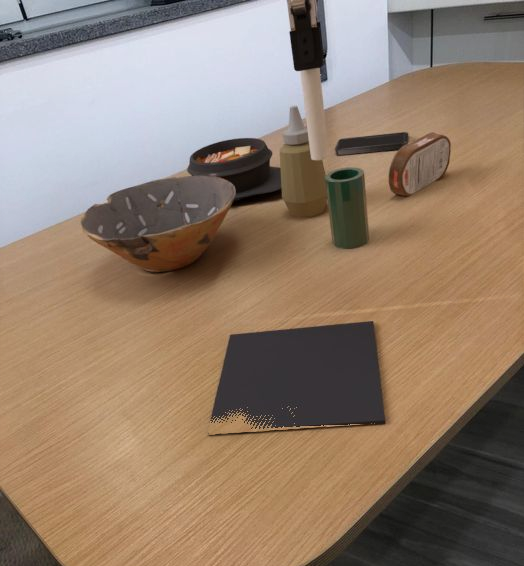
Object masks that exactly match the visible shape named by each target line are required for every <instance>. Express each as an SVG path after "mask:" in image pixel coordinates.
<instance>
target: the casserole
mask: <svg viewBox="0 0 524 566" xmlns="http://www.w3.org/2000/svg"><path fill="white" fill-rule="evenodd" d="M272 157H273V150H271V149H270V148H269V147H268V145H267V143H266V142H265V141H264V140H263V139H261V138H256V137H240V138H231V139H226V140H221V141H217V142H213V143H211V144H208V145H205V146H203V147H201V148H199V149H197V150H195V151H194V152H193V153H191V155H190V156H189V164H188V166H187V168H186V171H187V173H188V174H189V176H215V177H219V178H223V179H225V180H227V181H229V182H230V183H232V184H233V185H234V186H235V190H236V195H235V198H234V201H241V200H244V199H247V198H250V197H253V196H258V195H265V194H270V193H274V192H278V191H279V190H282V185H281V168H280V167H279V166H272V165H271V159H272ZM234 201H233V202H234Z"/></svg>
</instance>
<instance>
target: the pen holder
mask: <svg viewBox="0 0 524 566" xmlns="http://www.w3.org/2000/svg"><path fill="white" fill-rule="evenodd" d="M325 174H326V175H325V183H326V192H327V208H328V217H329V218H328V219H329V227H330V234H331V242H332V246H334V247H335V248H338V249H340V250H341V249H342V250H353V249H357V248H361V247H363V246H364V245H366V244H368V243H369V241H370V230H369V215H368V205H367V204H368V203H367V194H366V193H367V191H366V180H365V179H366V176H365V170H363V169H362V168H359V167H340V168H337V169H334V170H331V171H329V172H328V173H325Z"/></svg>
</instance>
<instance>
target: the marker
mask: <svg viewBox="0 0 524 566" xmlns="http://www.w3.org/2000/svg"><path fill="white" fill-rule="evenodd" d="M299 74H300V81H301V88H302V97H303V105H304V111H305V113H304V114H305V121H306V126H307V130H308V138H309V146H310V154H311V159H312V160H322V161H323V160H327V159H328V158H329V157H330V152H329V143H328V133H327V125H326V123H327V122H326V116H325V115H326V114H325V106H324V97H323V87H322V79H321V78H322V77H321V69H320V68H315V69H309V70H303V71H299Z"/></svg>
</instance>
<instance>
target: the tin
mask: <svg viewBox="0 0 524 566" xmlns="http://www.w3.org/2000/svg"><path fill="white" fill-rule="evenodd" d="M451 146H452V144H451V141H450V138H448V136H447V135H444V134H440V133H435V132H429V133H426V134H424V135H422V136H421V137H419V138H416V139H415V140H412V141H411V142H408V144H407V145H405V146H403V147H401V148H400V149H398V150H397V151H396V153H395V154H394V156H393V158H392V160H391V163H390V165H389V170H388V186H389V190H390V191H391V192H392V193H393V194H394V195H397V196H403V197H410V196H412V195H414V194H415V193H417V192H419V191H420V190H422V189H423V188H426V187H427V186H429V185H430V184H432V183H435V182H437V181H440V180H441V179H442V178H443V177H444V176H445V174H446V172H447V170H448V168H449V165H450V160H451V159H450V158H451V148H452V147H451Z"/></svg>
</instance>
